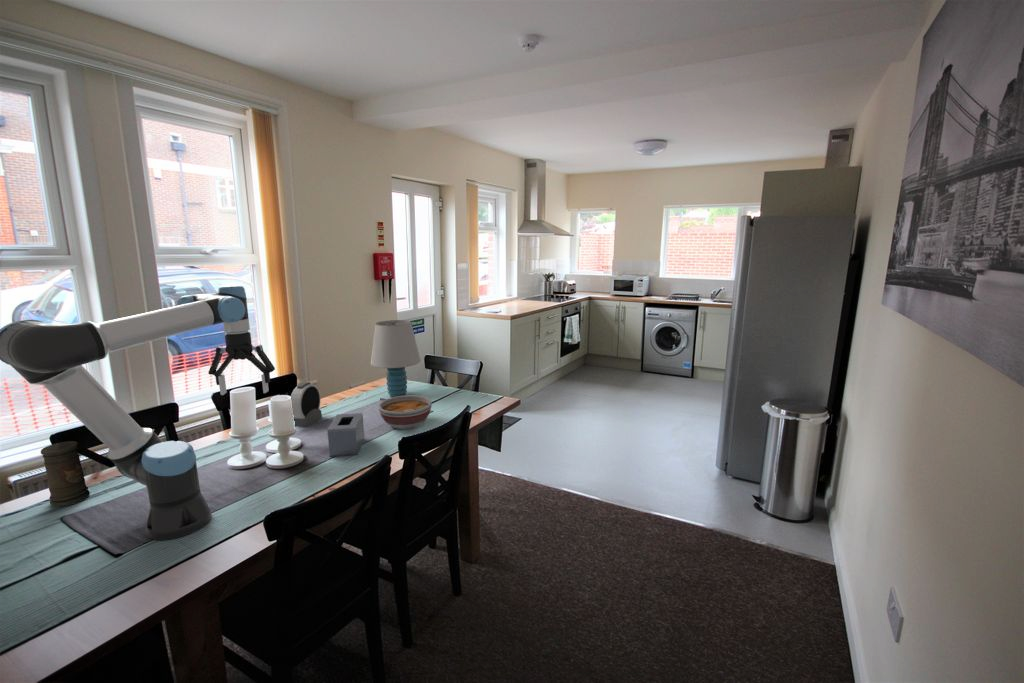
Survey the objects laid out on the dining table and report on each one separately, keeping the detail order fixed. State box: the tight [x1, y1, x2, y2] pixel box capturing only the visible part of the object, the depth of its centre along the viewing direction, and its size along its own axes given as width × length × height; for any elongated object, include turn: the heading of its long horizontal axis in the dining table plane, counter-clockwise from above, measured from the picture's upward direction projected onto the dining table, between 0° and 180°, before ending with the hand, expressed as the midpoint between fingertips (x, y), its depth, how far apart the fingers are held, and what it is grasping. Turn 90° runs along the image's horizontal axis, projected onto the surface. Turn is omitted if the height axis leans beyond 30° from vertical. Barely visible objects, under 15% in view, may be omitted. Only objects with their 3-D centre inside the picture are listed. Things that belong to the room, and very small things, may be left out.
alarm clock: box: [290, 381, 323, 428], centre depth 209 cm, size 16×10×18 cm, turn 171°
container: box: [40, 440, 91, 508], centre depth 145 cm, size 9×9×18 cm
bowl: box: [378, 394, 433, 430], centre depth 206 cm, size 23×23×10 cm
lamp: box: [370, 319, 421, 398], centre depth 243 cm, size 25×25×39 cm
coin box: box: [326, 412, 365, 458], centre depth 182 cm, size 10×16×11 cm, turn 8°
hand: (245, 393), depth 159 cm, fingers open, 13 cm apart
